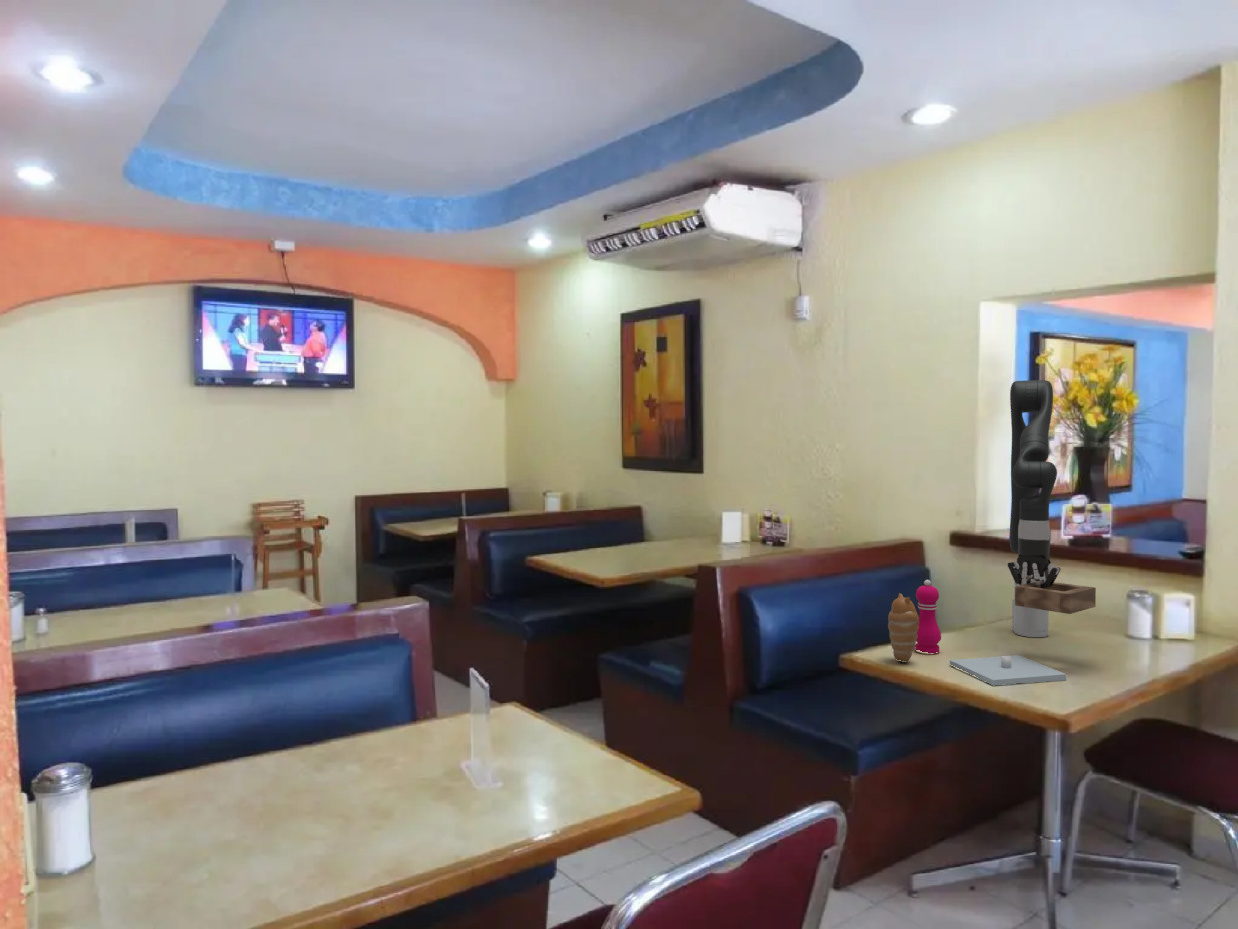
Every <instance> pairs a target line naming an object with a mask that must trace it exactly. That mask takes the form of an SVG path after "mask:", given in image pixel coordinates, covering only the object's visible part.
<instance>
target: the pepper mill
mask: <svg viewBox="0 0 1238 929" xmlns="http://www.w3.org/2000/svg"><path fill="white" fill-rule="evenodd" d="M923 584H924V585H921V586H919V587H918V588H917V589H916V593H915V597H916V599H917V601H918V602H917V608H918V609H919V614H918V617H919V625H918V626H919V629H918V631H917V635H918V637H917V640H916V645H915V648H914V650H915V649H916V650H920V651H922V652H928V653H936V652H939V653H940V646H939V645H938V643H940V642H941V640H942V633H941V629H940V627H939V625H938V622H937V619H936V618H937V617H936V610H937V609H938V603H937V602H938V601H939V599H940V593H939V590H938V589H937V588H936V587H935V586H933V585H931V584H932V582H931V580H930V579H926V580H924V582H923Z"/></svg>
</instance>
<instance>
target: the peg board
mask: <svg viewBox="0 0 1238 929" xmlns="http://www.w3.org/2000/svg"><path fill="white" fill-rule="evenodd" d="M950 664H951V665H953V666H955V667H957V668H959V669H962V670H963V671H966V672H968V673H969V674H971V675H975V676H976V677H978V678H979V679H981V680H982V681H981V680H980V681H981V682H983V681H986V682H987V683H989V684H991V685H993V686H992V687H996V686H995V685H1002V684H1014V685H1017V684H1016V683H1027V684H1035V683H1034V682H1039V683H1047V682H1046V681H1051V682H1059V681H1060V682H1062V681H1067V674H1066V673H1064V672H1061V671H1059V670H1057V669H1054V668H1052V667H1050V666H1046V665H1044V664H1042V663H1039V662H1037V661H1034V660H1031V659H1029V658H1026V657H1024V656H1022V655H1019V654H1013V655H999V656H989V657H974V658H973V657H972V658H961V659H950V660H949V665H950ZM979 679H978V680H979ZM987 683H986V684H987ZM989 684H988V685H989ZM991 685H990V686H991ZM1002 686H1003V685H1002Z"/></svg>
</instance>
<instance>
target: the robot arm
mask: <svg viewBox="0 0 1238 929" xmlns="http://www.w3.org/2000/svg"><path fill="white" fill-rule="evenodd" d="M1009 391H1010V392H1009V400H1010V401H1009V405H1010V419H1011V421H1010V422H1011V451H1010V452H1011V453H1010V454H1011V455H1010V483H1011V484H1010V485H1011V486H1010V487H1011V488H1010V489H1011V490H1010V491H1011V504H1010V506H1011V507H1010V519H1009V520H1010V524H1009V539H1008V540H1009V546H1010V550H1011V552H1013V553H1017V554H1018V556H1017V558H1016V560H1015V561H1011V562H1008V563H1007V567H1008V569H1009V572H1010V574H1011V576H1012V579H1013V580H1014V585H1013V586H1014V595H1013V596H1014V599H1012V603H1011V604H1012V607H1011V608H1012V609H1011V610H1012V616H1011V617H1012V618H1011V619H1012V620H1011V624H1012V625H1011V627H1012V628H1011V631H1013V633H1014V634H1016V635H1018V636H1022V637H1029V638H1045V637H1048V636H1049V620H1050V619H1049V617H1050V616H1049V615H1050V614H1049V612H1050V611H1047V610H1041V609H1034V608H1028V607H1021V606H1015V586H1020V585H1024V584H1029V583H1033V582H1036V588H1043V589H1045V588H1047V587H1051V586H1052V585H1053V583H1054V582H1055V581H1056V579H1057V577H1058V575H1059V574H1060V572H1061V567H1060V566H1055V565H1053V564H1052V561H1051V560H1050V553H1051V552H1050V549H1051V548H1050V547H1051V530H1050V503H1051V496H1052V493H1053V489H1054V486H1055V483H1056V480H1057V477H1058V469H1057V466H1056V465H1055V464H1054V463H1053V462H1051V461H1047V460H1048V458H1049V455H1050V454H1049V453H1050V452H1049V449H1050V448H1049V447H1050V446H1049V433H1050V427H1051V420H1052V414H1053V404H1054V388H1053V385H1052V383H1051V382H1050V381H1049V380H1046V379H1035V380H1029V379H1028V380H1016V381H1013V382H1012V383H1011V386H1010V390H1009ZM1023 413H1024V414H1025V413H1037V414H1036V416H1035V417H1034V418H1033V419H1032V420H1031V421H1030V422H1028V424H1027V425H1026V423H1025V420H1024V416H1023ZM1040 489H1041V491H1040ZM1039 491H1040V492H1039ZM1037 493H1038V494H1037Z"/></svg>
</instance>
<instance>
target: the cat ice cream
mask: <svg viewBox="0 0 1238 929" xmlns="http://www.w3.org/2000/svg"><path fill="white" fill-rule="evenodd" d="M887 618H888V619H887V621H888V623H887V628H888V630H889V636H888V637H889V640H890V646H891V648H892V650H893V651H892V653H893V656H894V659H895V660H896V659H897V660H901V661H907V662H909V661H910V660H911V657H912V656H913V652H914V650H915V645H916V644H917V641H916V640H917V637H918V635H917V631H918V629H919V626H918V625H919V614H918V612H917V609H916V605H915V604H914V603H913V601H912V600H911V597H909V596H907V597H904V596H903V594H902V593H900V592H899V593H898V596H897V598H895V599H894V600H893V601H892V603H891V610H890V611H889V613H888V616H887ZM897 660H896V661H897Z"/></svg>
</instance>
